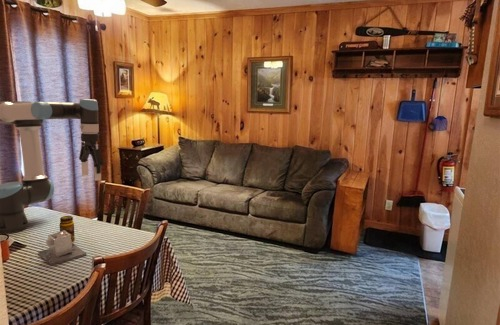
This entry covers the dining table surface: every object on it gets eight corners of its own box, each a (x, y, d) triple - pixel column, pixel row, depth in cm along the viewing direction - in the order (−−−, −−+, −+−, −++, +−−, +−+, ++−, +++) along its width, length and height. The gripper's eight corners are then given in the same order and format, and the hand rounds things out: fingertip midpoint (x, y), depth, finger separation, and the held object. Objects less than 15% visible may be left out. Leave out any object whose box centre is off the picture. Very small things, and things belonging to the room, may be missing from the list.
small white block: (66, 246, 149) (64, 230, 147) (72, 251, 144) (70, 234, 143) (46, 253, 142) (43, 236, 141) (52, 258, 138) (49, 241, 136)
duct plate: (38, 253, 144) (36, 232, 142) (72, 244, 154) (71, 224, 153) (50, 265, 134) (49, 242, 133) (86, 255, 145) (85, 233, 143)
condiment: (76, 242, 157) (75, 218, 155) (55, 246, 153) (54, 221, 151) (74, 237, 163) (73, 213, 161) (54, 240, 158) (53, 216, 156)
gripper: (70, 130, 159) (72, 174, 162) (93, 135, 143) (95, 183, 146) (86, 130, 164) (88, 172, 168) (110, 135, 148) (111, 181, 152)
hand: (91, 177), depth 157 cm, fingers open, 13 cm apart
